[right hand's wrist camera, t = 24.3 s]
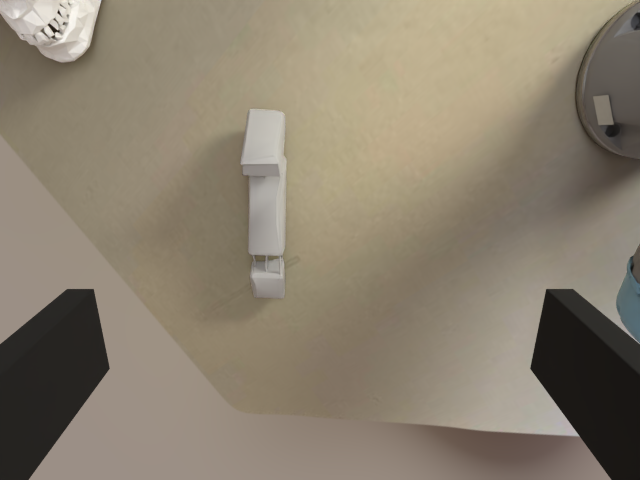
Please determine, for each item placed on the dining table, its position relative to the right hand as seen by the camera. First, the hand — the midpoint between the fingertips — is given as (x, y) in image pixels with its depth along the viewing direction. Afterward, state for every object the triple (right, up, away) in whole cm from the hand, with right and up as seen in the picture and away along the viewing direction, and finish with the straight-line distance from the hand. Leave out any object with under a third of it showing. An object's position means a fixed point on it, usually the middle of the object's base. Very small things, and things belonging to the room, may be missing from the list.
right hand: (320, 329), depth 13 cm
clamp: (-5, +6, +34) cm, 35 cm away
